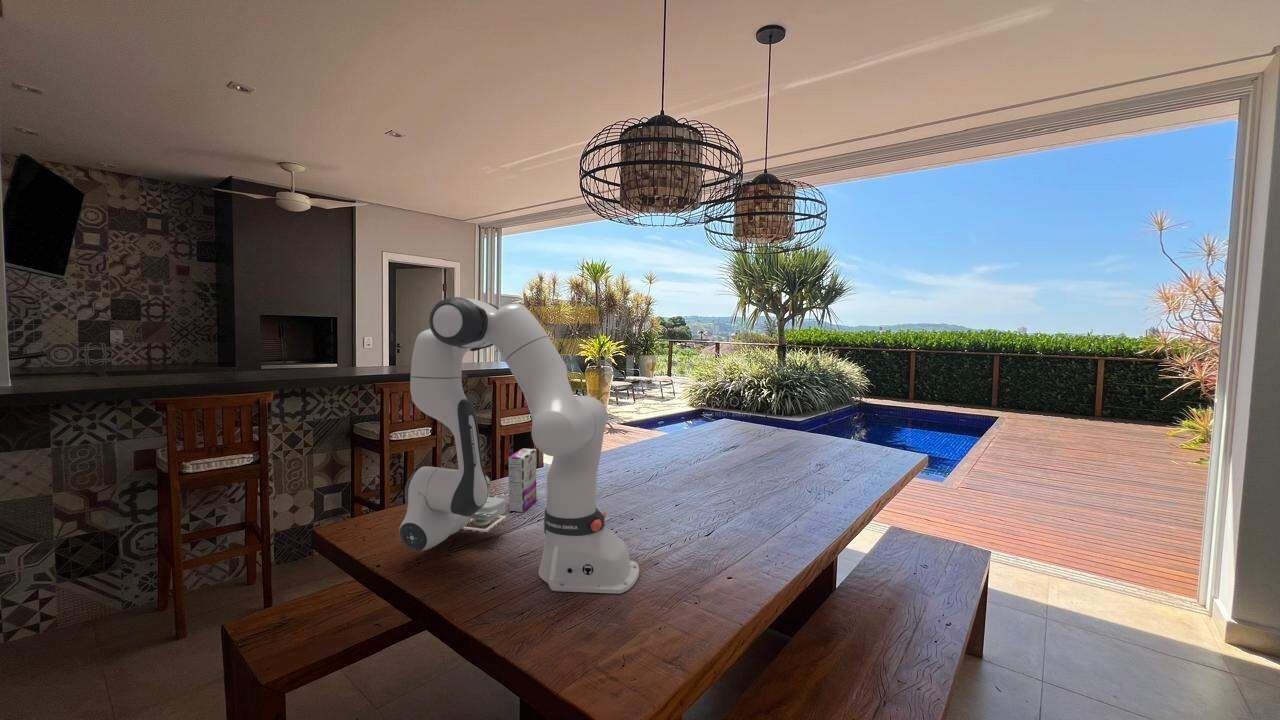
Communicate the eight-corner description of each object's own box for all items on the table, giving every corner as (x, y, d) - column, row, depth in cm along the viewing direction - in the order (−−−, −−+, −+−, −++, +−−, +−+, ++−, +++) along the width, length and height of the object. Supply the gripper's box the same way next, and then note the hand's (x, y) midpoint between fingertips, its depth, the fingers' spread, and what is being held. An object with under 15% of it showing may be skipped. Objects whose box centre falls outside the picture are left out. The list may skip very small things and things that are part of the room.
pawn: (493, 521, 150) (493, 474, 149) (485, 527, 146) (485, 478, 145) (479, 520, 151) (479, 472, 150) (471, 525, 147) (470, 477, 146)
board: (506, 518, 153) (506, 516, 153) (481, 536, 140) (481, 534, 140) (431, 509, 159) (431, 507, 159) (400, 526, 146) (400, 524, 146)
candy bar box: (521, 499, 169) (521, 447, 168) (536, 500, 168) (537, 448, 167) (507, 511, 158) (507, 456, 157) (523, 513, 157) (523, 457, 156)
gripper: (490, 504, 132) (516, 487, 145) (416, 496, 136) (448, 481, 150) (490, 530, 132) (516, 510, 146) (417, 521, 137) (448, 503, 150)
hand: (481, 495), depth 148 cm, fingers open, 8 cm apart
